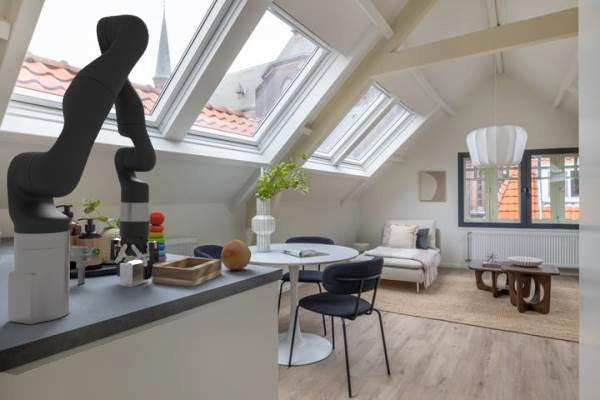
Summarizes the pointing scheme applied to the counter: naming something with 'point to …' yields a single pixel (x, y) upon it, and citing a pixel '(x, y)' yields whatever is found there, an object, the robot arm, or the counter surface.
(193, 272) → the brown wooden tray
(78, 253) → the mechanical component
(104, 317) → the counter surface
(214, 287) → the counter surface
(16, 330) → the counter surface
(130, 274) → the white block
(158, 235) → the stacking toy
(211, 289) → the counter surface
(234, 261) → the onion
